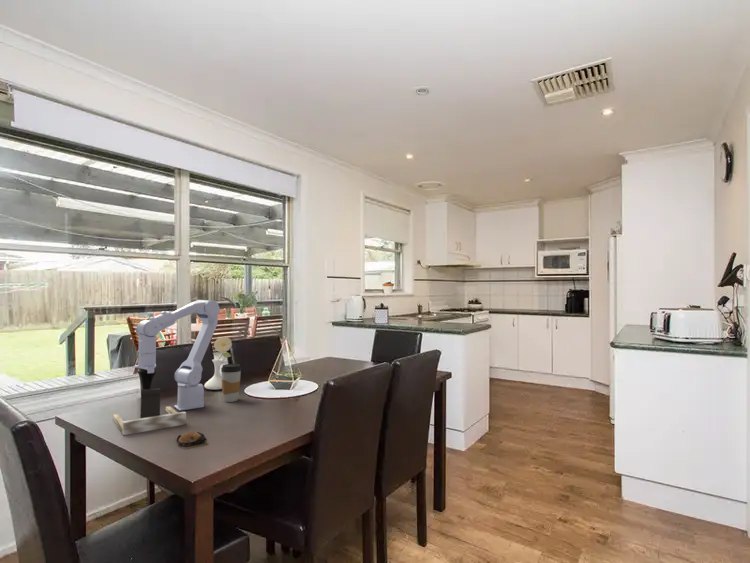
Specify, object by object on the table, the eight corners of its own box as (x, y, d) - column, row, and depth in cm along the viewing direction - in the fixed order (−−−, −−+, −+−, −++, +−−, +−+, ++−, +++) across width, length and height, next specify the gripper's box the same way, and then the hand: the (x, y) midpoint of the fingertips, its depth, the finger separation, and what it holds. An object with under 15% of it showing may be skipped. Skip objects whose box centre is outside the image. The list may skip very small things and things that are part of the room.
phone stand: (159, 425, 148) (160, 390, 149) (139, 427, 146) (140, 392, 146) (159, 418, 156) (160, 385, 157) (141, 420, 154) (142, 386, 154)
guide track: (170, 410, 167) (170, 399, 167) (185, 424, 150) (186, 412, 150) (113, 418, 155) (113, 407, 155) (123, 435, 138) (123, 422, 138)
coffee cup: (244, 399, 184) (245, 364, 185) (228, 403, 177) (229, 367, 178) (232, 396, 189) (232, 362, 189) (216, 400, 182) (216, 365, 182)
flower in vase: (199, 390, 199) (200, 337, 200) (212, 385, 210) (213, 334, 211) (224, 392, 197) (226, 338, 198) (236, 386, 208) (238, 335, 209)
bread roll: (210, 446, 131) (210, 434, 131) (181, 452, 126) (181, 439, 126) (200, 436, 140) (201, 425, 140) (173, 441, 135) (173, 429, 135)
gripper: (131, 351, 161) (130, 387, 160) (138, 356, 149) (137, 395, 149) (151, 349, 165) (151, 385, 165) (160, 354, 154) (159, 392, 154)
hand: (146, 389), depth 157 cm, fingers closed
